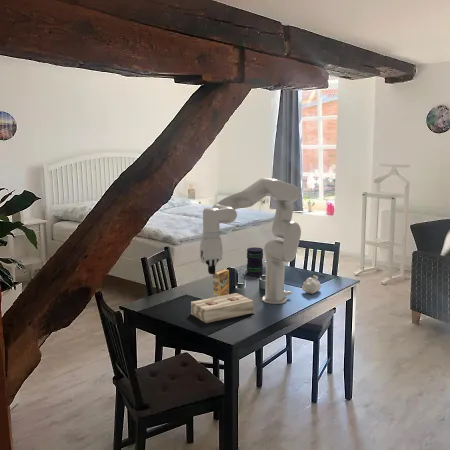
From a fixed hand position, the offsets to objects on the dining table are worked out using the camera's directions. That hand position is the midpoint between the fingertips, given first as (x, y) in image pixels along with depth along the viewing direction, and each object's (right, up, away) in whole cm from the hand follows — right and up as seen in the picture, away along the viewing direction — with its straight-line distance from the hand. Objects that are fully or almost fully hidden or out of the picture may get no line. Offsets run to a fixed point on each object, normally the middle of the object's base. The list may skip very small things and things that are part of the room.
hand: (211, 273), depth 239 cm
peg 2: (+10, -19, +10) cm, 24 cm away
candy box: (+4, -16, +26) cm, 31 cm away
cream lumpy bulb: (+53, -14, +39) cm, 67 cm away
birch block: (+5, -20, +7) cm, 21 cm away
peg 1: (0, -20, +3) cm, 20 cm away
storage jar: (+24, -7, +77) cm, 81 cm away
